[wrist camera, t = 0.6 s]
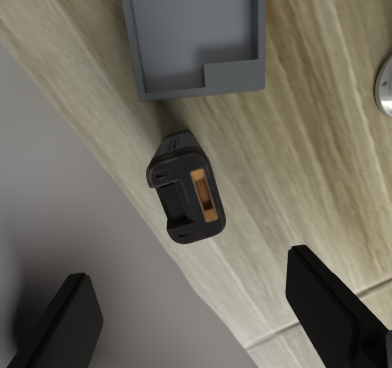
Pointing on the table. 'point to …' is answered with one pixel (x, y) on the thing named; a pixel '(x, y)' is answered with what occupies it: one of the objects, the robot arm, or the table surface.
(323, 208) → the table surface
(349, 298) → the robot arm
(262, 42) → the keyhole dock
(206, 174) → the electronic device
